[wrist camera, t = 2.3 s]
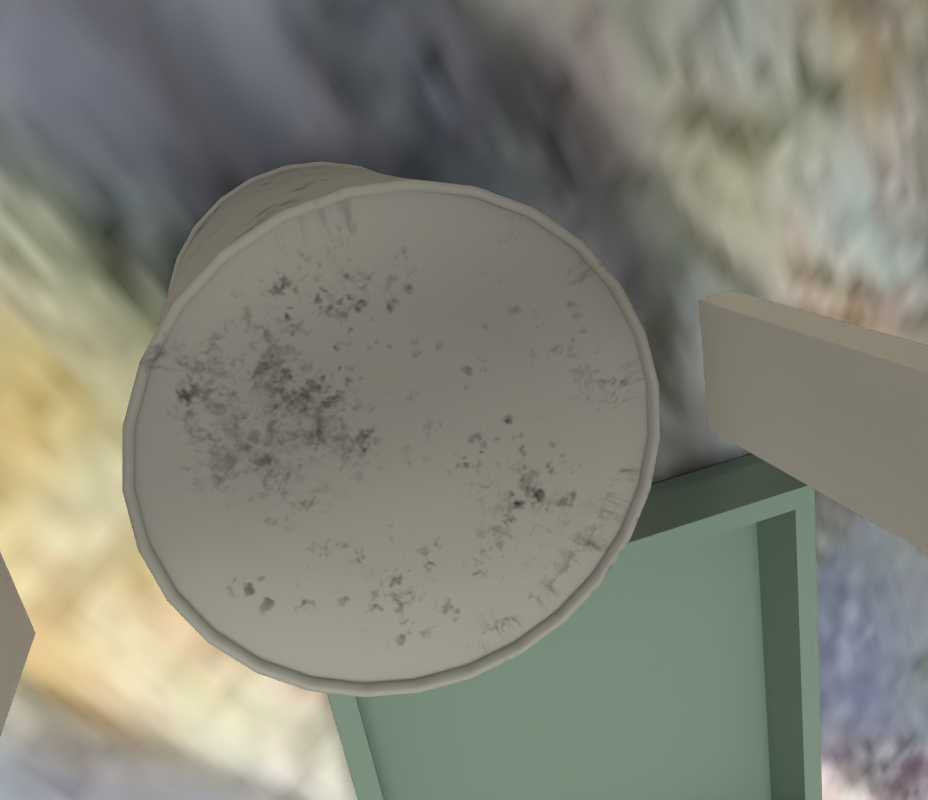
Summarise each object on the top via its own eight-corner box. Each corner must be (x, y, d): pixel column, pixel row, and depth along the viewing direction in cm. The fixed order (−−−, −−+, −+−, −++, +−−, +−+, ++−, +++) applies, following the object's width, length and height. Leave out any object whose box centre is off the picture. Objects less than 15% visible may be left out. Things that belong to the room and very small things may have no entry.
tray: (759, 451, 32) (814, 483, 29) (776, 798, 38) (823, 854, 35) (303, 591, 28) (313, 643, 25) (405, 950, 34) (423, 1026, 31)
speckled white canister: (394, 104, 24) (549, 73, 13) (518, 374, 28) (722, 533, 17) (99, 254, 23) (-15, 362, 12) (268, 513, 27) (305, 784, 15)
